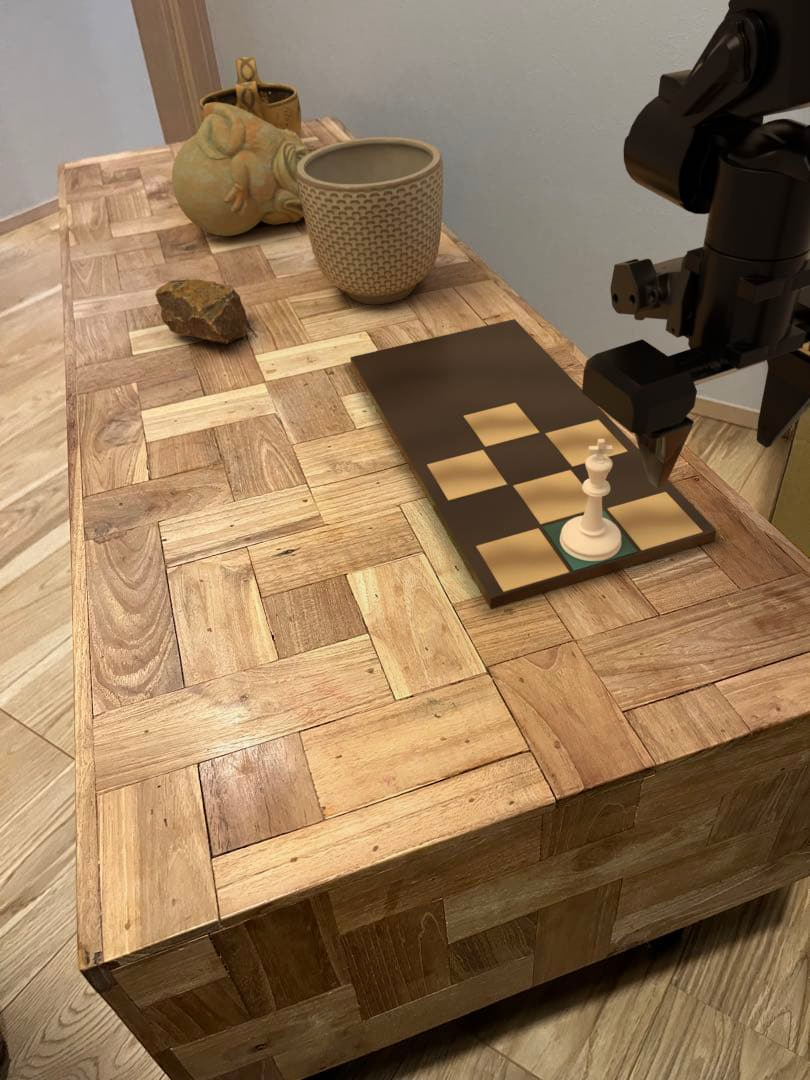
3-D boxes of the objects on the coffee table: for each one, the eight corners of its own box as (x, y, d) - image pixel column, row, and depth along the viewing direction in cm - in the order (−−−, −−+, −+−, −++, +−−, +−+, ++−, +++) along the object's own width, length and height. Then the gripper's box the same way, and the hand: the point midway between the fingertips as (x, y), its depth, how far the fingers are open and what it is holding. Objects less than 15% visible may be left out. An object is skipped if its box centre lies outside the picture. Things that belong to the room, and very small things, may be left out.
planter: (400, 333, 97) (388, 196, 87) (287, 304, 105) (263, 175, 94) (472, 274, 108) (470, 145, 97) (364, 252, 115) (351, 129, 104)
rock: (175, 372, 94) (260, 353, 96) (160, 322, 90) (250, 303, 92) (163, 323, 104) (241, 306, 106) (150, 275, 100) (231, 259, 102)
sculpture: (244, 274, 115) (351, 184, 117) (142, 146, 107) (258, 51, 109) (227, 278, 131) (321, 199, 133) (137, 167, 123) (239, 84, 125)
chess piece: (626, 560, 65) (641, 459, 58) (563, 562, 65) (571, 462, 59) (616, 519, 69) (629, 419, 62) (556, 521, 69) (563, 422, 62)
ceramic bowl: (311, 177, 139) (297, 78, 129) (211, 190, 138) (188, 91, 128) (304, 138, 156) (290, 47, 146) (214, 149, 155) (194, 58, 145)
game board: (714, 541, 68) (717, 529, 67) (490, 609, 64) (490, 597, 63) (514, 328, 96) (514, 317, 96) (351, 366, 93) (349, 356, 92)
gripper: (782, 168, 55) (737, 375, 65) (539, 232, 50) (532, 445, 60) (926, 220, 47) (849, 446, 57) (655, 302, 42) (624, 533, 52)
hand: (710, 463), depth 57 cm, fingers open, 9 cm apart
